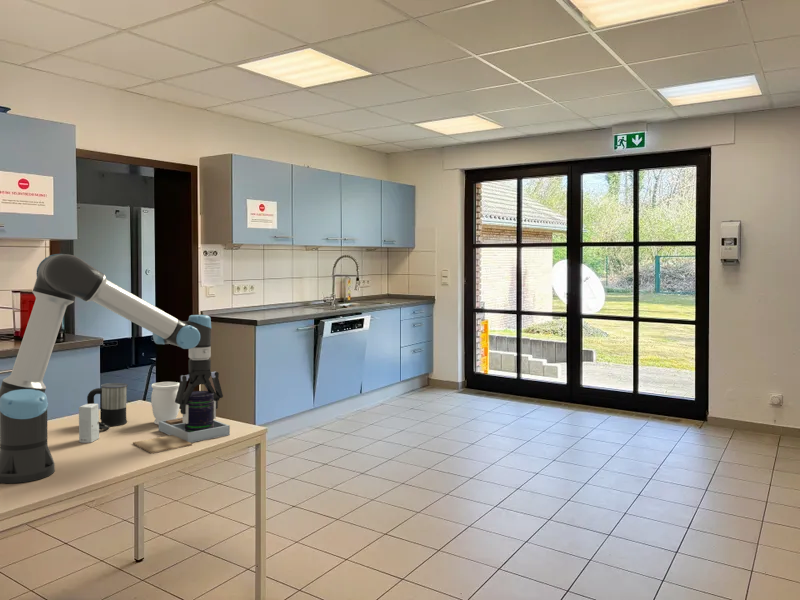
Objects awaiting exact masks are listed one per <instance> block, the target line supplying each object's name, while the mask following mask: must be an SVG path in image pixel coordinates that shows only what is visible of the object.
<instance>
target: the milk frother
mask: <svg viewBox="0 0 800 600" xmlns="http://www.w3.org/2000/svg"><path fill="white" fill-rule="evenodd" d="M128 385H129V384H128V383H125V382H124V383H123V382H108V383H103V384H101V385H100V386H101V387H98V388H93V389H92V390H89V393H88V394H87V397H86V399H87V400H86V401H87V402H86V404H95V396H96V395H100V406H99V408H100V413H99V415H100V416H99V431H102V430H110V427H113V426H114V427H116V426H121V425H126V424H127V422H128V420H127V393H128V392H127V387H128Z"/></svg>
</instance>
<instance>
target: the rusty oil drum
mask: <svg viewBox="0 0 800 600" xmlns="http://www.w3.org/2000/svg"><path fill="white" fill-rule="evenodd" d="M213 395H214V393H211V392H208V390H193V392H192V394H191V396H189V400H188V402H187V405H188V424H186V423H185V431H187V432H194V431H200V430H205V429H210V428H213V427H214V424H213V423H214V420H215V419H213V408H214V400H213V399H214V397H213Z"/></svg>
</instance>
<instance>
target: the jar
mask: <svg viewBox="0 0 800 600" xmlns="http://www.w3.org/2000/svg"><path fill="white" fill-rule="evenodd" d="M179 384H180V382H178V381H177V382H176V381H160V382H153V383H152V384H151V388H152V390H151V391H152V392H151V395H150V400H151V402H150V404H151V408H152V409H151V410H152V414H153V417H154V418H155V419H154V421H153V423H154V424H155V425H158V426H159V421H163V420H169V419H175V418H178V414H179V412H180V407H181V406H180V404H177V403H175V399H176V396H177V392H178V388H179Z"/></svg>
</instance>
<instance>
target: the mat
mask: <svg viewBox="0 0 800 600" xmlns="http://www.w3.org/2000/svg"><path fill="white" fill-rule="evenodd" d="M132 445H134V446H136V447H138V448H140V449H141V450H144V451H146V452H148V453H150V454H154V453H159V452H165V451H169V450H175V449H179V448H185V447H189V446H193V442H191V443H190V442H188V441H186V440H183V439H181V438H179V437H176V436H174V435H165V436H160V437H153V438H149V439H143V440H139V441H133V442H132Z"/></svg>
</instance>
